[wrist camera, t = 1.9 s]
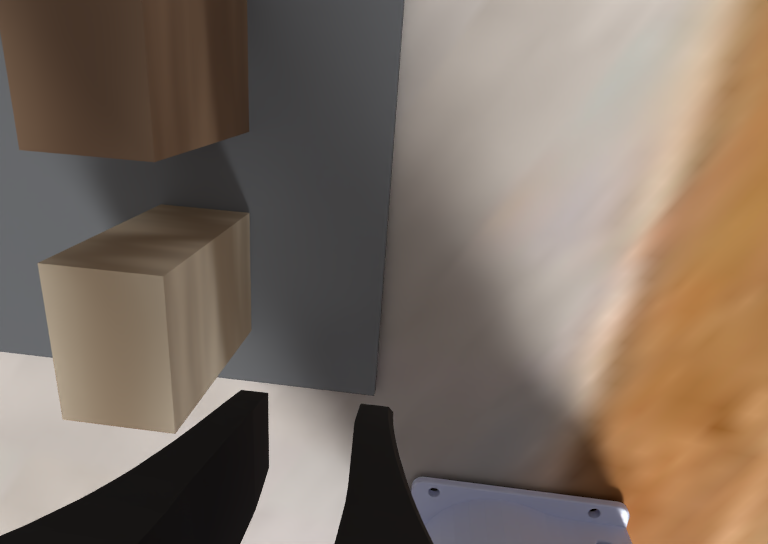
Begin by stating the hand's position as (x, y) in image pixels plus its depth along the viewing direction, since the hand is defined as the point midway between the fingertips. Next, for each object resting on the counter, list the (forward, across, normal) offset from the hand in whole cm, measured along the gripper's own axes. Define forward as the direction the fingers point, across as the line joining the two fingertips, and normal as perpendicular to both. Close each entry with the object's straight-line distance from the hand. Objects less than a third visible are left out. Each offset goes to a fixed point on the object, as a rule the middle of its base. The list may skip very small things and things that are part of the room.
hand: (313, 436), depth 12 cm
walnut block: (+10, +6, -8) cm, 14 cm away
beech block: (+10, +6, 0) cm, 12 cm away
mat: (+10, +8, -2) cm, 13 cm away
